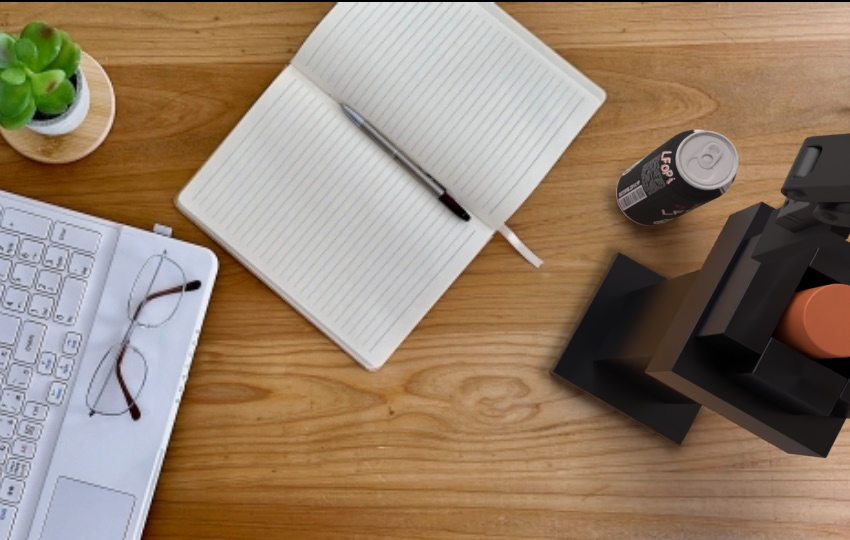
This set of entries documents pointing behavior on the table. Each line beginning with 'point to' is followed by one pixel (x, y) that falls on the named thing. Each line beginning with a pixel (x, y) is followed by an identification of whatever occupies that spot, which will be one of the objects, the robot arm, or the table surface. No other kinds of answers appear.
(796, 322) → the button
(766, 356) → the button post
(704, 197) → the beverage can
